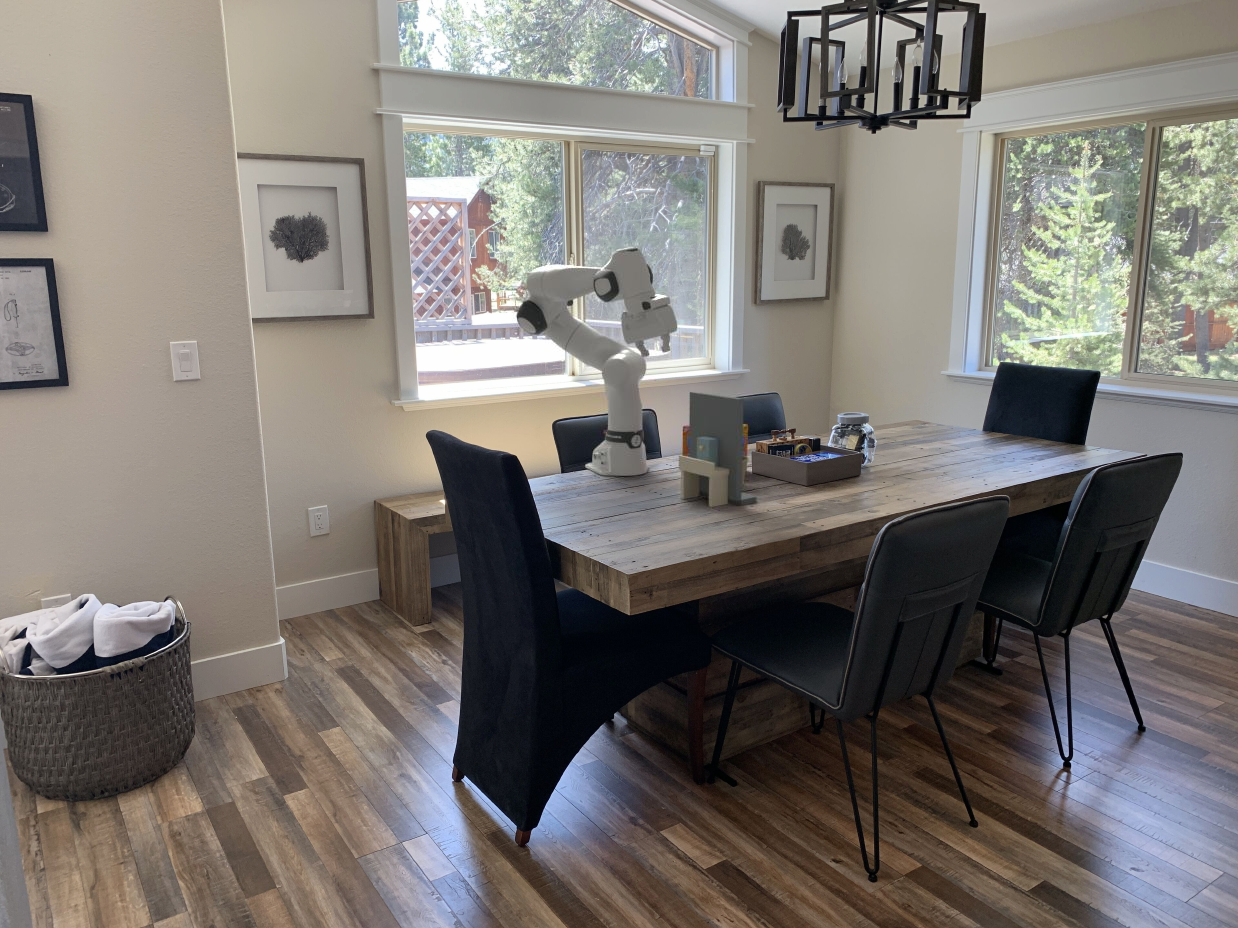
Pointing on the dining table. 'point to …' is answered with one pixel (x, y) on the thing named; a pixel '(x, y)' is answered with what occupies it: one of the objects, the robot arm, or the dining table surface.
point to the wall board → (726, 425)
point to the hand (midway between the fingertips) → (656, 354)
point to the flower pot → (744, 467)
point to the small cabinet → (707, 449)
